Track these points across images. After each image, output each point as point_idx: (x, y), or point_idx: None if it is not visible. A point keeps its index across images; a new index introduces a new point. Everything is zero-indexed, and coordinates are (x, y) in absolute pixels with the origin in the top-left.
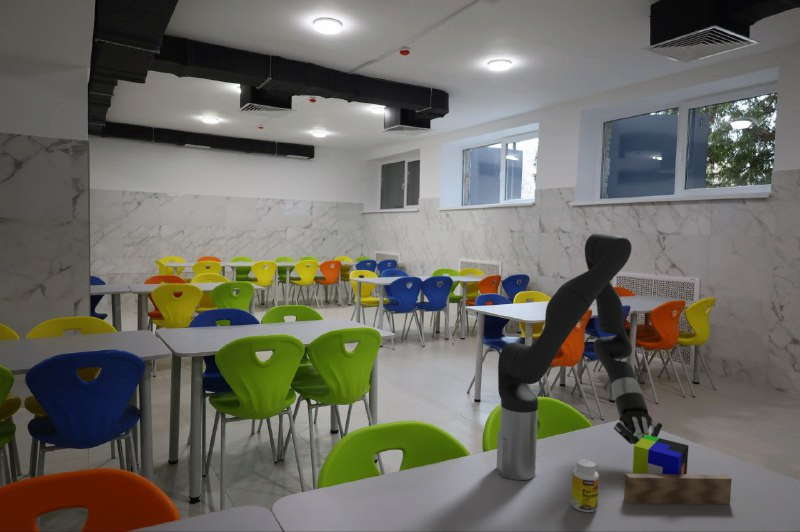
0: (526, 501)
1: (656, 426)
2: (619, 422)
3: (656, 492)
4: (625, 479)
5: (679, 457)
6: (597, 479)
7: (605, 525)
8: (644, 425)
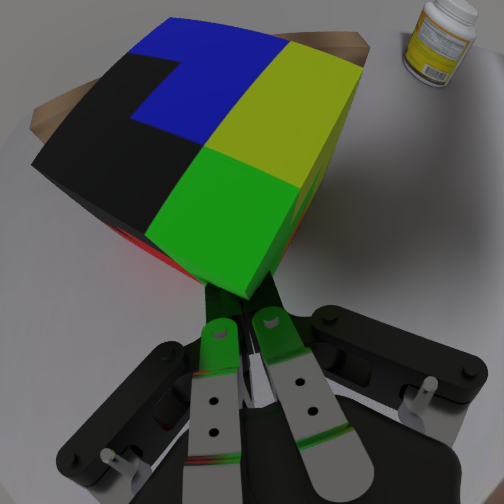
0: (499, 94)
1: (102, 449)
2: (459, 419)
3: None
4: (364, 58)
5: (164, 23)
6: (423, 7)
7: (379, 30)
8: (220, 433)
